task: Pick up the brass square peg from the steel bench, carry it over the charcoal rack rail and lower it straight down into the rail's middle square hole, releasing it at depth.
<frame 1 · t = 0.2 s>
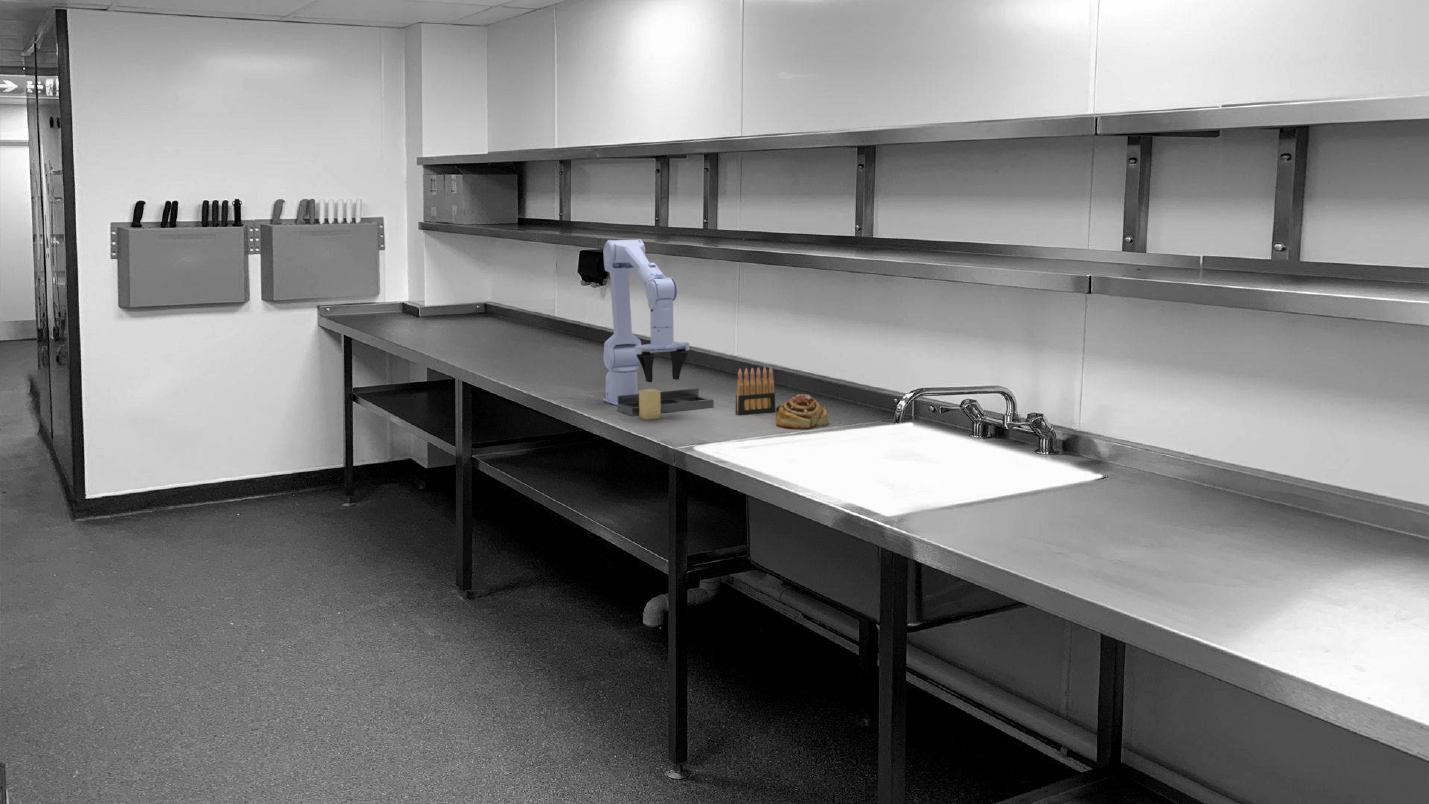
hand: (662, 380, 302), 10 cm above the counter, fingers open, 7 cm apart
charcoal rail: (666, 409, 316), on the counter
pastry: (801, 425, 296), on the counter
brass peg: (650, 417, 305), on the counter
ammunition clip: (755, 414, 310), on the counter
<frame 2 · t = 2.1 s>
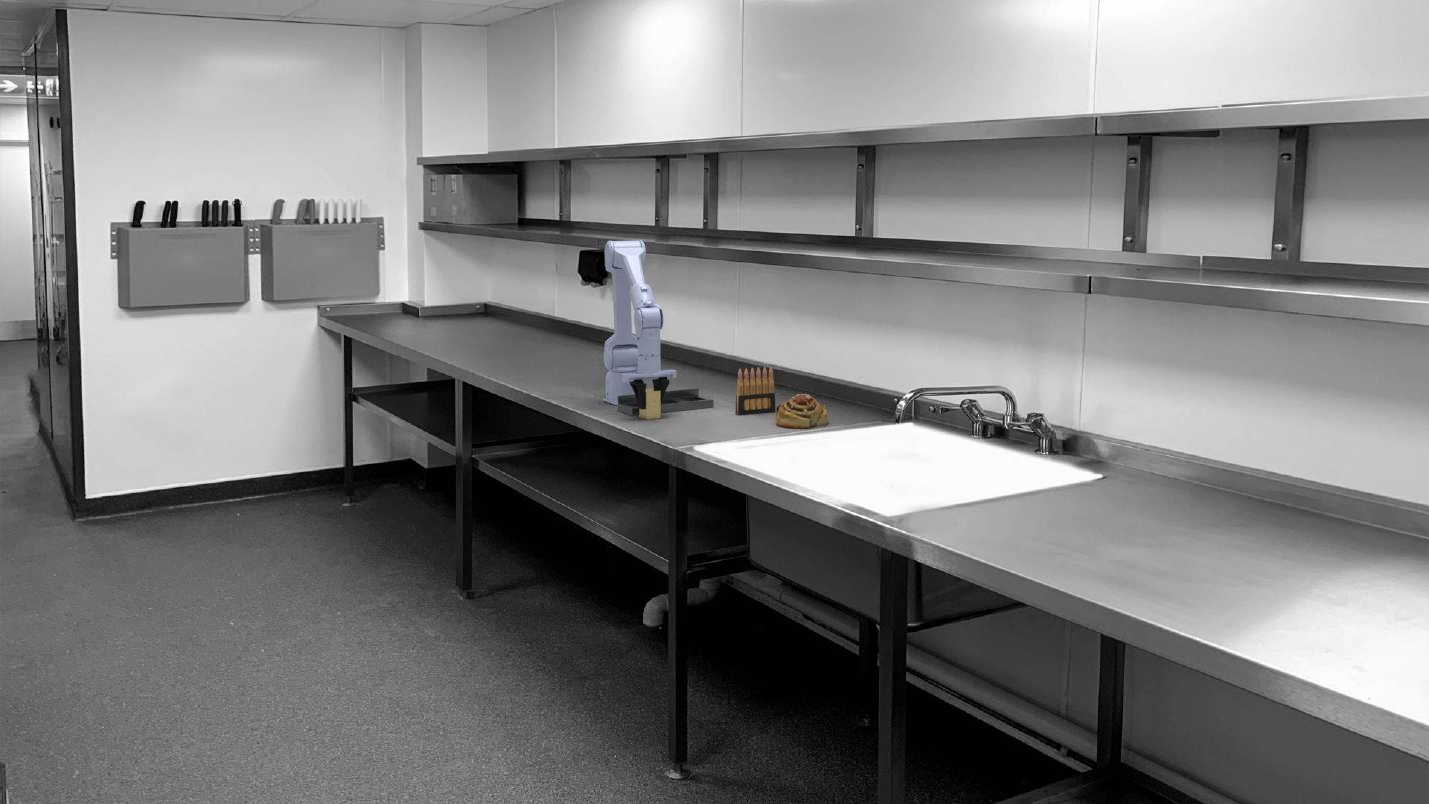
hand: (649, 408, 305), 2 cm above the counter, fingers closed on brass peg, 4 cm apart
brass peg: (650, 417, 305), on the counter, touching gripper
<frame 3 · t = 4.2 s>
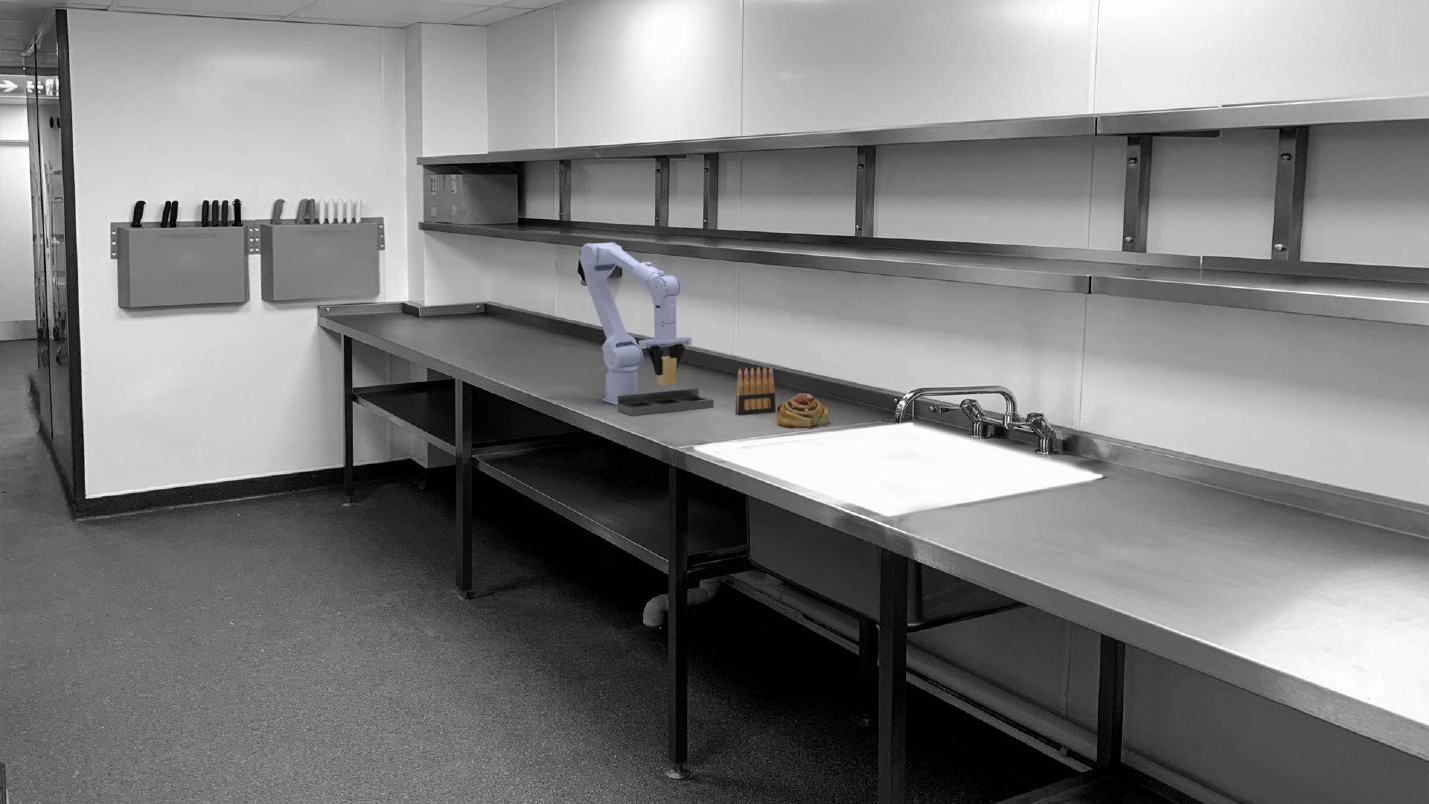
hand: (665, 374, 315), 9 cm above the counter, fingers closed on brass peg, 4 cm apart
brass peg: (666, 384, 315), point 7 cm above the counter, touching gripper
when the fingers open (3 cm above the counter, at t = 6.3 s): brass peg stays where it is, resting in charcoal rail.
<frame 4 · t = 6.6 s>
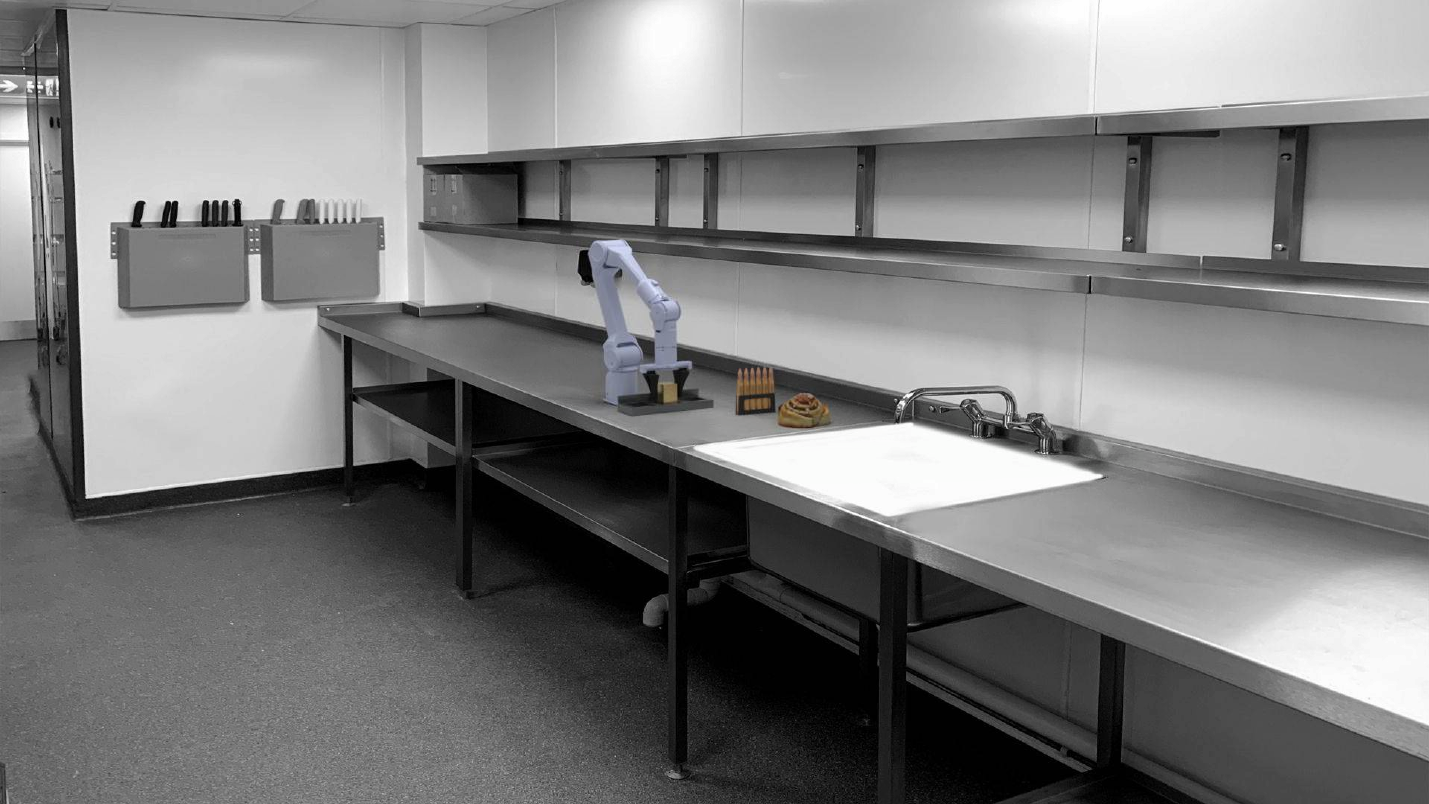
hand: (666, 398, 316), 3 cm above the counter, fingers open, 6 cm apart
brass peg: (667, 409, 316), resting in charcoal rail
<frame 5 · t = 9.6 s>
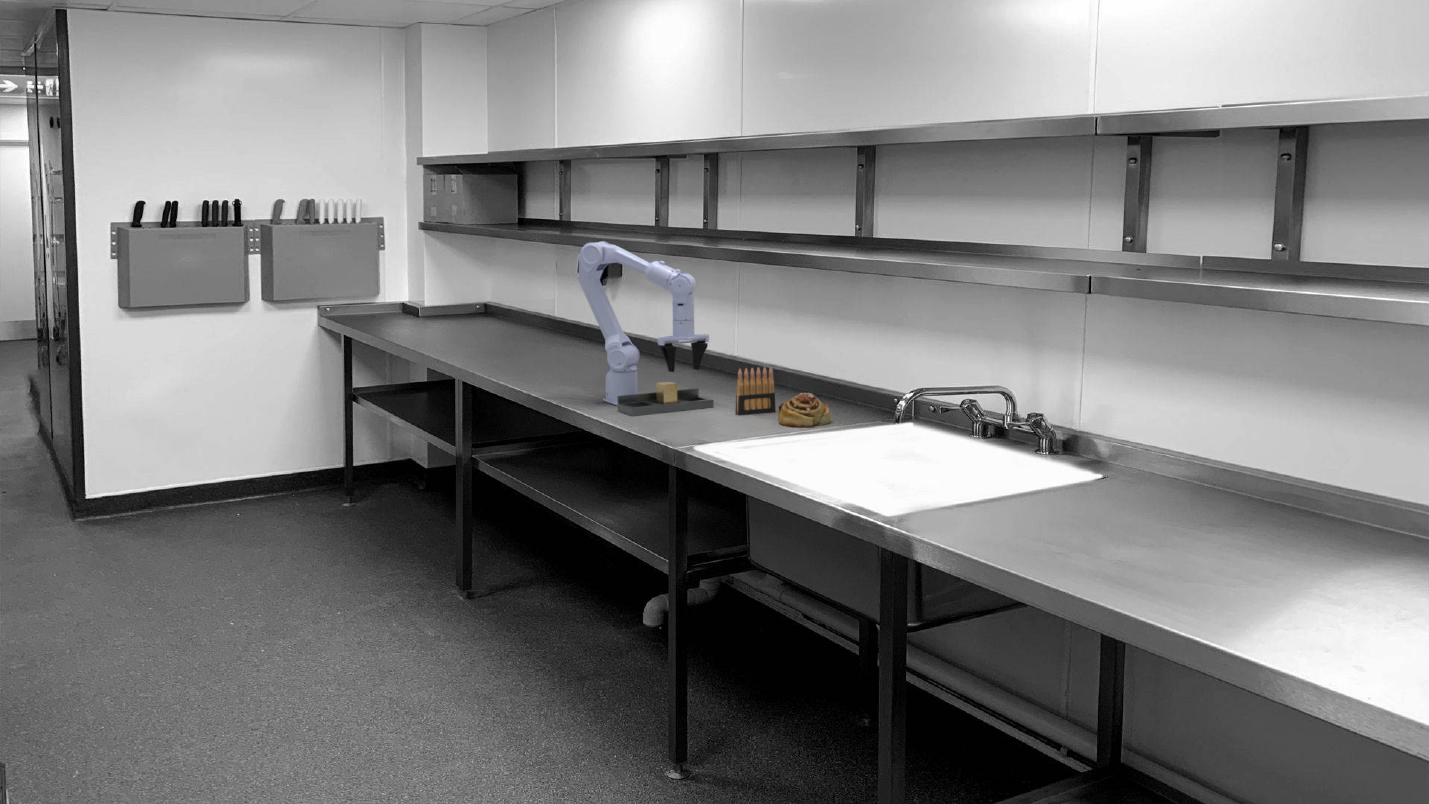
hand: (683, 370, 321), 9 cm above the counter, fingers open, 7 cm apart
at the end: brass peg 0.2 cm off-centre on the charcoal rail, point 0.0 cm above the charcoal rail's base; brass peg tilted 0°; the gripper is holding nothing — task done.
